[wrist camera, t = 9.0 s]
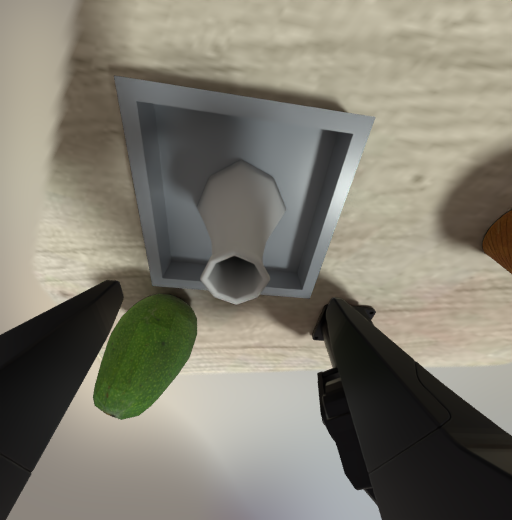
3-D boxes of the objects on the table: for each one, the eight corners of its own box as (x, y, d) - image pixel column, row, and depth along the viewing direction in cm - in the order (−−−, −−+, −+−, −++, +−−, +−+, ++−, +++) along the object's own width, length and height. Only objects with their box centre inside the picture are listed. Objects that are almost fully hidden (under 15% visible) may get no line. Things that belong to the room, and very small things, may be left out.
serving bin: (302, 276, 24) (309, 298, 21) (164, 264, 23) (152, 285, 20) (352, 116, 16) (375, 117, 13) (141, 83, 15) (113, 75, 12)
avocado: (140, 270, 23) (56, 386, 13) (210, 290, 25) (184, 405, 15) (133, 317, 27) (65, 432, 17) (194, 331, 29) (164, 444, 19)
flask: (182, 205, 19) (127, 279, 10) (241, 139, 16) (231, 166, 8) (242, 256, 22) (237, 345, 13) (300, 208, 19) (339, 281, 11)
